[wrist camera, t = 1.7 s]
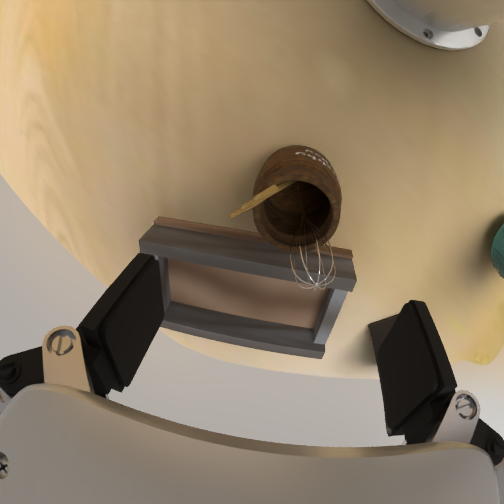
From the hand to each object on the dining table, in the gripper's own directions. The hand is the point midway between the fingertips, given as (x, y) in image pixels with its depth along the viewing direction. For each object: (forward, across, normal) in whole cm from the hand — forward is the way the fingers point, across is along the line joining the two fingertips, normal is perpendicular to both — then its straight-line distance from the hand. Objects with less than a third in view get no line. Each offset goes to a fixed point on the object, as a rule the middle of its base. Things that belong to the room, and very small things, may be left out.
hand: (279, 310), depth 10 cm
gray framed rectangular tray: (+14, +3, +10) cm, 18 cm away
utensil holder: (+14, 0, -1) cm, 15 cm away
